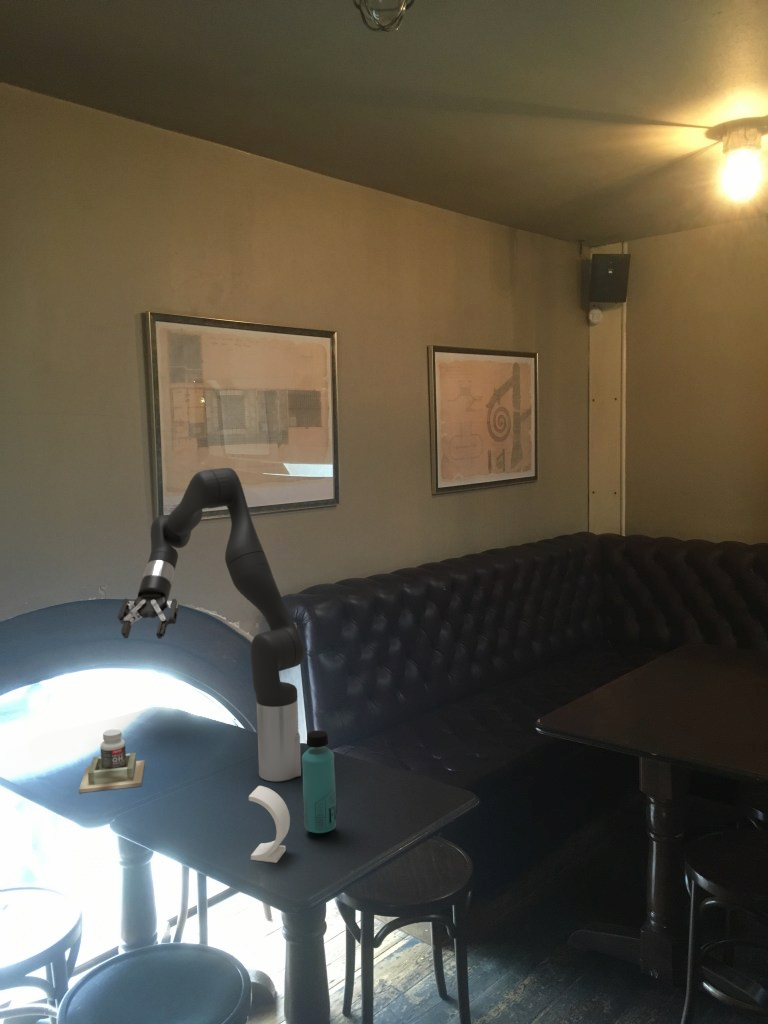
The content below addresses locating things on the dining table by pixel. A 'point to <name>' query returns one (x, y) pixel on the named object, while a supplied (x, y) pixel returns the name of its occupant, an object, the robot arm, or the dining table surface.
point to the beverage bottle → (319, 784)
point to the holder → (112, 775)
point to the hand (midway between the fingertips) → (141, 636)
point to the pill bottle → (113, 750)
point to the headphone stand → (282, 821)
